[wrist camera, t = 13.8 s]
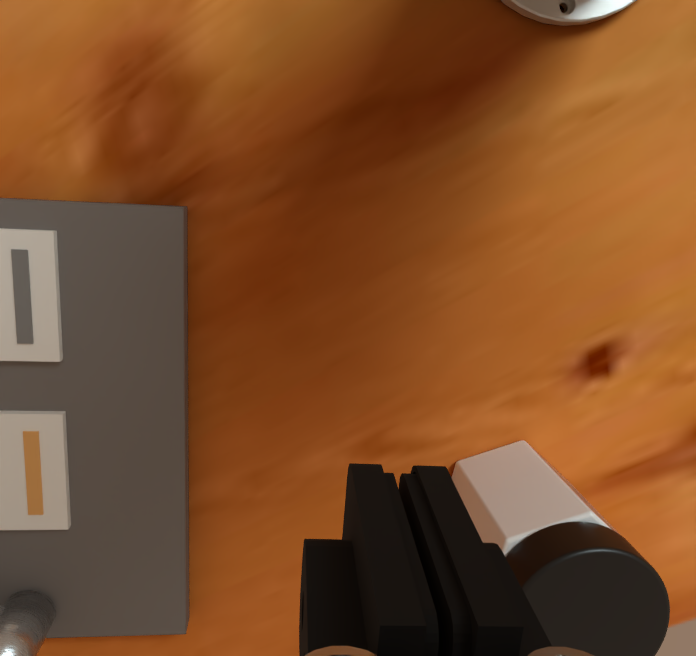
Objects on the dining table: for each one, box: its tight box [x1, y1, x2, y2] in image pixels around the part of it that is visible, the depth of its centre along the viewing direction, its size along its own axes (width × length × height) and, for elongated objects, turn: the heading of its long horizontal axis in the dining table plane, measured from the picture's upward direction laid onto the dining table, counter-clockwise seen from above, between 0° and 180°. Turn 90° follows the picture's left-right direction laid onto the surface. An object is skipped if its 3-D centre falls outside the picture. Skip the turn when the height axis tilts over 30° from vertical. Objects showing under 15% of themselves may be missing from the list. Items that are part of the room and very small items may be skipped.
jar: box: [452, 440, 670, 656], centre depth 36 cm, size 9×8×12 cm
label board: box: [0, 198, 189, 638], centre depth 36 cm, size 26×18×2 cm
